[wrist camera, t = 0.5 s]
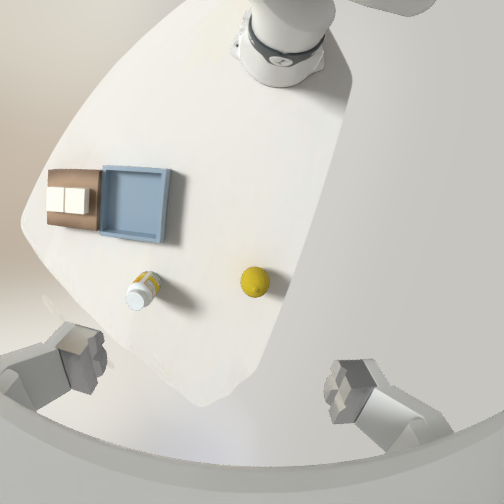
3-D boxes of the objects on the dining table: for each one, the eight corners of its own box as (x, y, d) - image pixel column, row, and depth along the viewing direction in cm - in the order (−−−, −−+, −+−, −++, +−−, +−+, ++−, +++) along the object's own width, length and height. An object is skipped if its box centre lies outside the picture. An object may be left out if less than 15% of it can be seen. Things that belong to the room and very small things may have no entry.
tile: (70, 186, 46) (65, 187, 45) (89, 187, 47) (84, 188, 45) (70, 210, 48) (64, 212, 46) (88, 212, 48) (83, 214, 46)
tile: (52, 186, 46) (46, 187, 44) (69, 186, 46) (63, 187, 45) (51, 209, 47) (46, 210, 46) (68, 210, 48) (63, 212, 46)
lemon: (272, 268, 57) (276, 283, 49) (260, 290, 58) (262, 308, 51) (247, 257, 56) (248, 271, 48) (236, 280, 57) (235, 297, 50)
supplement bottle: (163, 274, 57) (149, 293, 47) (159, 295, 58) (146, 317, 49) (140, 267, 56) (123, 284, 47) (137, 289, 58) (121, 309, 48)
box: (108, 165, 50) (100, 165, 46) (171, 169, 50) (166, 169, 47) (104, 231, 53) (97, 234, 50) (164, 238, 54) (159, 243, 51)
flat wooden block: (58, 169, 49) (48, 169, 45) (108, 170, 50) (99, 170, 46) (57, 220, 52) (47, 224, 48) (104, 226, 53) (96, 230, 49)
